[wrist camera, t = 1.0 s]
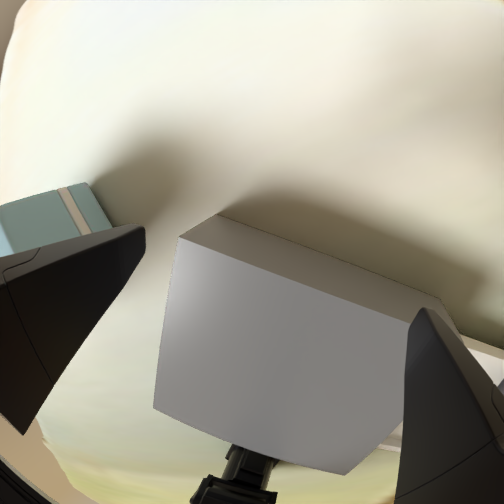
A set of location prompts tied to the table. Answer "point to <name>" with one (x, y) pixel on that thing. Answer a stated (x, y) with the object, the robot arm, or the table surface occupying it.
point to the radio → (50, 218)
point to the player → (284, 346)
